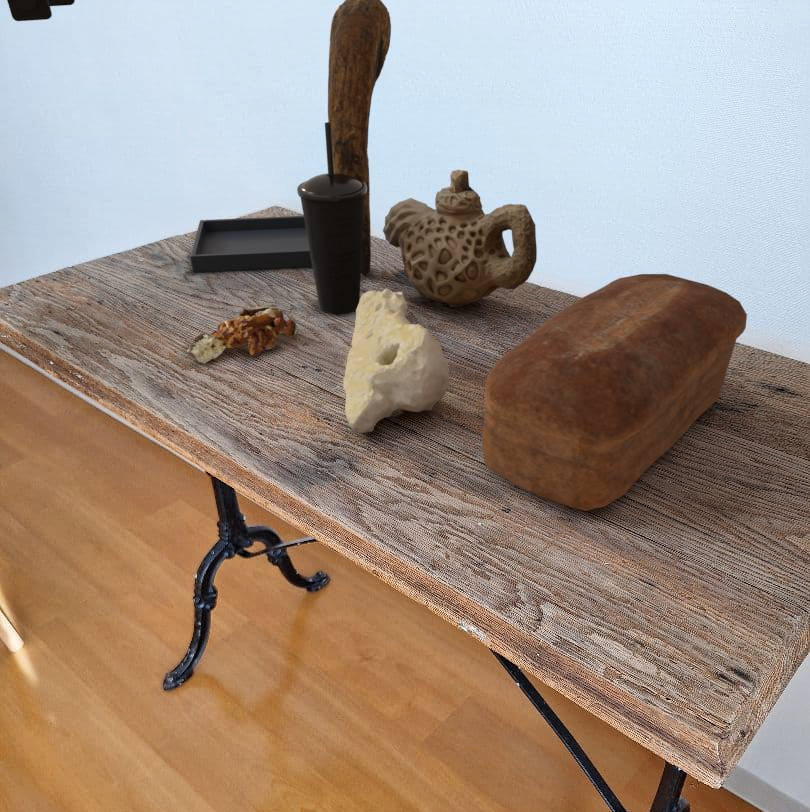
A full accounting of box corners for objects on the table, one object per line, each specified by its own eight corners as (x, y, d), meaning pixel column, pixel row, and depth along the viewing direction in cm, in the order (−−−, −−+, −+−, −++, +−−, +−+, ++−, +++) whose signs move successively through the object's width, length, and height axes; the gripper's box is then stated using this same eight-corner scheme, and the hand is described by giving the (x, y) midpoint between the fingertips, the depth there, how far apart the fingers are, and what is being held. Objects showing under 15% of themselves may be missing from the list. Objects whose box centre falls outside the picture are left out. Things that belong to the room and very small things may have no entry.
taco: (179, 350, 89) (173, 318, 86) (271, 318, 95) (267, 288, 92) (212, 372, 85) (206, 341, 82) (306, 338, 91) (303, 308, 88)
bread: (740, 398, 80) (775, 277, 72) (600, 541, 63) (627, 403, 55) (613, 358, 86) (632, 243, 79) (456, 477, 70) (461, 346, 62)
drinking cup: (358, 322, 94) (349, 134, 81) (297, 314, 96) (279, 129, 83) (379, 296, 99) (374, 116, 87) (321, 289, 101) (307, 112, 88)
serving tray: (193, 272, 106) (190, 256, 105) (202, 234, 117) (199, 220, 115) (324, 266, 107) (323, 250, 106) (321, 229, 118) (320, 214, 117)
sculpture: (396, 262, 108) (393, -8, 89) (389, 284, 102) (384, 0, 83) (345, 261, 109) (330, -9, 89) (335, 282, 103) (317, 0, 84)
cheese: (433, 470, 74) (506, 328, 75) (378, 432, 69) (456, 281, 71) (343, 446, 86) (407, 323, 87) (291, 411, 81) (360, 282, 82)
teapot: (359, 294, 100) (353, 164, 90) (419, 267, 107) (419, 143, 97) (500, 344, 89) (511, 203, 80) (557, 310, 96) (573, 176, 86)
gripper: (-42, -239, 68) (27, 3, 79) (-120, -266, 55) (-25, 29, 66) (49, -243, 69) (105, -2, 80) (-7, -271, 56) (69, 23, 66)
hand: (46, 12), depth 73 cm, fingers open, 9 cm apart
